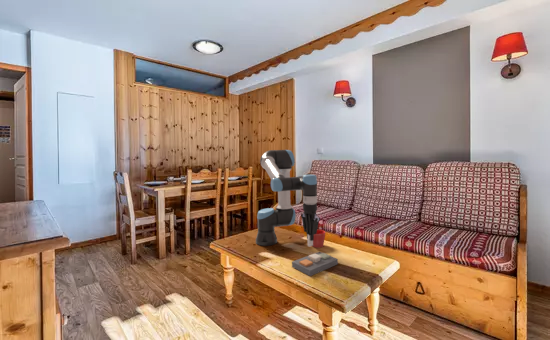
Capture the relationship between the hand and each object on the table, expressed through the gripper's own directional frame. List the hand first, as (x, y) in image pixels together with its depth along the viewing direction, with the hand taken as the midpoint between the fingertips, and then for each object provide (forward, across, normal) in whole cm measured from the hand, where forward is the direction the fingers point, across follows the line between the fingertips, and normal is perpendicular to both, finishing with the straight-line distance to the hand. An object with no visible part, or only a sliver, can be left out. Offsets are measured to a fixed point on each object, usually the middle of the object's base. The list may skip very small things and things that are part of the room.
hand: (310, 245), depth 144 cm
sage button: (+11, 0, +11) cm, 15 cm away
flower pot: (+13, -21, +26) cm, 35 cm away
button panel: (+12, 0, +4) cm, 13 cm away
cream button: (+10, 0, +4) cm, 10 cm away
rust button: (+11, 0, -3) cm, 12 cm away
